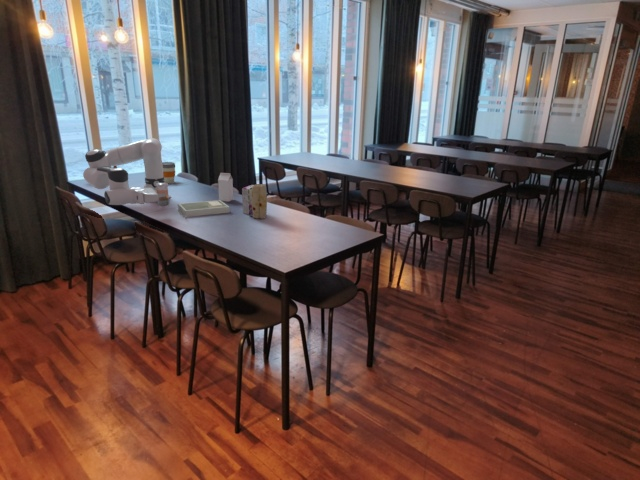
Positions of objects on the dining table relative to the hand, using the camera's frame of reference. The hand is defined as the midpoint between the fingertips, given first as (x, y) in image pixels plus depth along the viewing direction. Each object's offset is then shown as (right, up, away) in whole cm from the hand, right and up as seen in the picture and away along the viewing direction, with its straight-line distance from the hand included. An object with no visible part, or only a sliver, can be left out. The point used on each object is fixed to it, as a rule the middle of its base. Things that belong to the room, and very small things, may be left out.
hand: (164, 193), depth 239 cm
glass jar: (-1, -6, +2) cm, 7 cm away
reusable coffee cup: (-32, +19, +95) cm, 102 cm away
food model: (+53, -14, +9) cm, 55 cm away
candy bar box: (+46, -10, +18) cm, 50 cm away
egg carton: (+24, -8, +19) cm, 32 cm away
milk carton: (+25, -1, +44) cm, 50 cm away
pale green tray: (+18, -10, +15) cm, 26 cm away
